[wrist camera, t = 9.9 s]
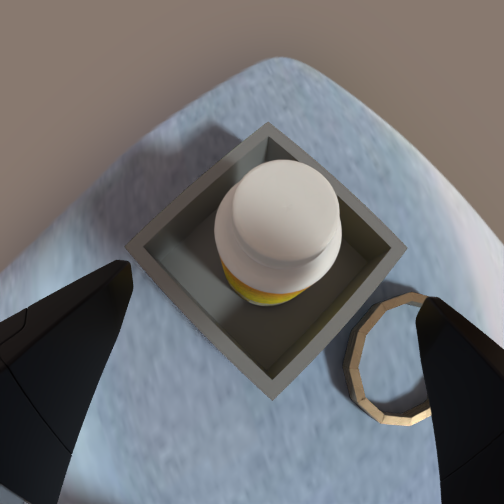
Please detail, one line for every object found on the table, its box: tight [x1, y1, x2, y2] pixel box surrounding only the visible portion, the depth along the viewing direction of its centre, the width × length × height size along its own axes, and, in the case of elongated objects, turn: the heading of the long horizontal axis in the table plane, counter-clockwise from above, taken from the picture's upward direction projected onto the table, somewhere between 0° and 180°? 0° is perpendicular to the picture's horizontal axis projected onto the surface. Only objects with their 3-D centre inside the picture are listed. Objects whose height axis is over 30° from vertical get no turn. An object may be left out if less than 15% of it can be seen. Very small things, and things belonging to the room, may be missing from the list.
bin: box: [125, 122, 407, 401], centre depth 20 cm, size 12×12×4 cm
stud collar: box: [342, 292, 431, 426], centre depth 20 cm, size 9×9×2 cm
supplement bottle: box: [214, 160, 342, 306], centre depth 16 cm, size 6×6×10 cm
